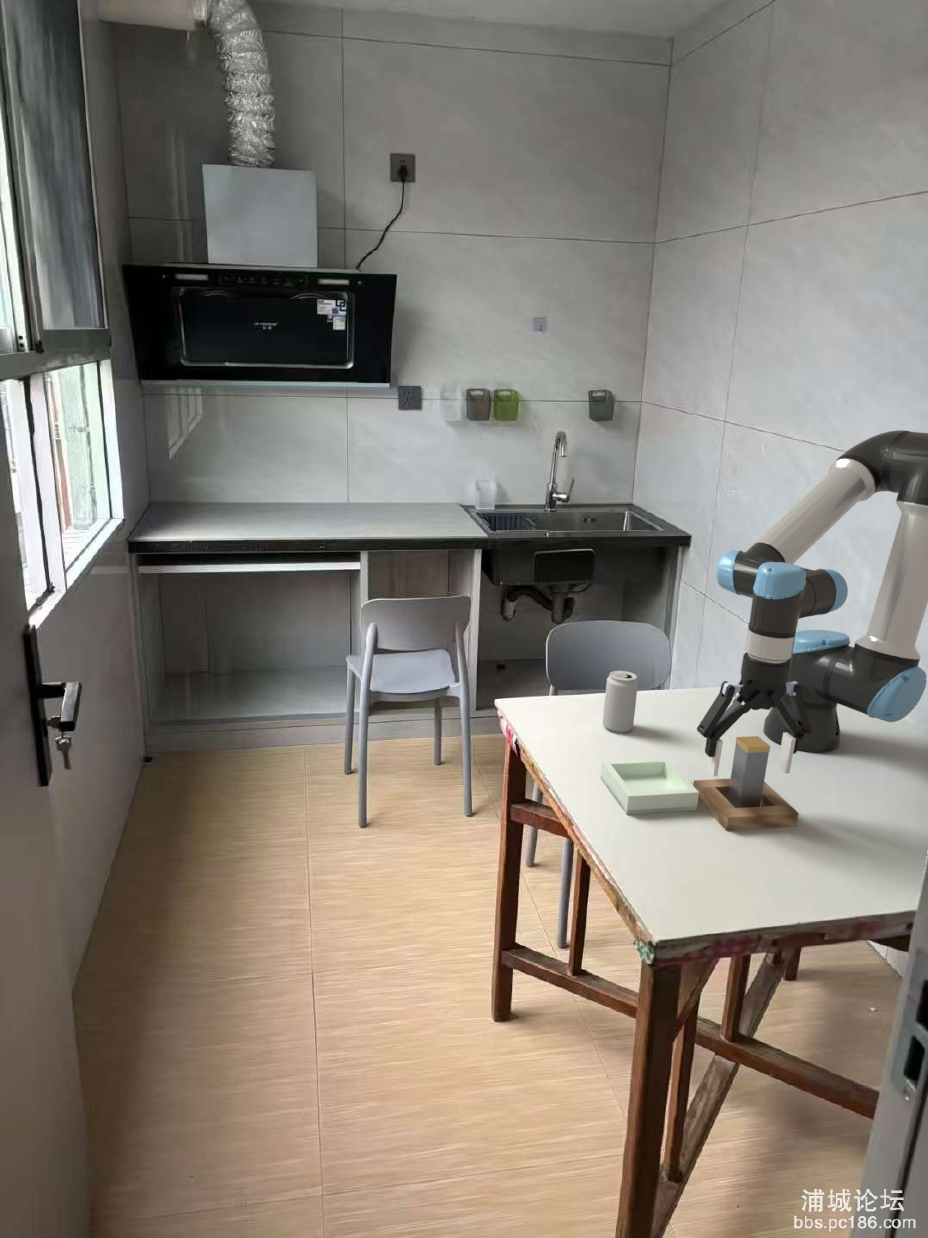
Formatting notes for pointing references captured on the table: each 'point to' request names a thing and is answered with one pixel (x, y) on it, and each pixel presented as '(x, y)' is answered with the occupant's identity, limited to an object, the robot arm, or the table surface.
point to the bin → (649, 786)
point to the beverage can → (620, 701)
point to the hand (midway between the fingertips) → (747, 771)
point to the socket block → (732, 818)
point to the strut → (748, 772)
